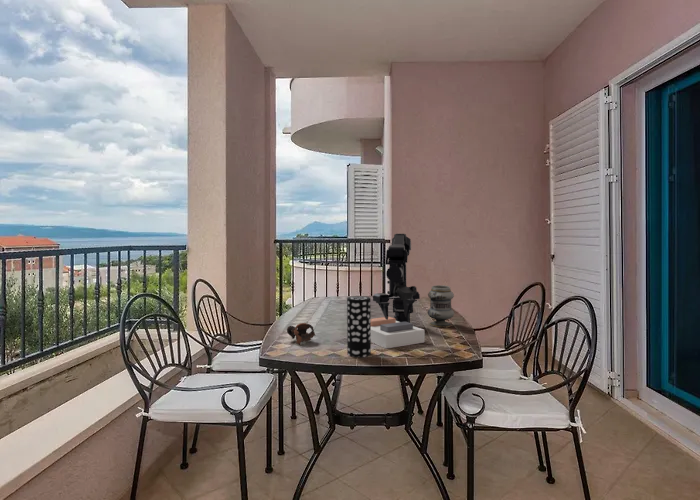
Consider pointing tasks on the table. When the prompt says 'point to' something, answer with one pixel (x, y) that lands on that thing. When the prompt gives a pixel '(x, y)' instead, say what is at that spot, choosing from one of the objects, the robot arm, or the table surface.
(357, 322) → the white-spotted black cylinder
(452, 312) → the apothecary jar
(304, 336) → the brown toy animal
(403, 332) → the white tray
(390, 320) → the salmon orange rectangular block
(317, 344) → the table surface
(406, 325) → the dark grey rectangular block
